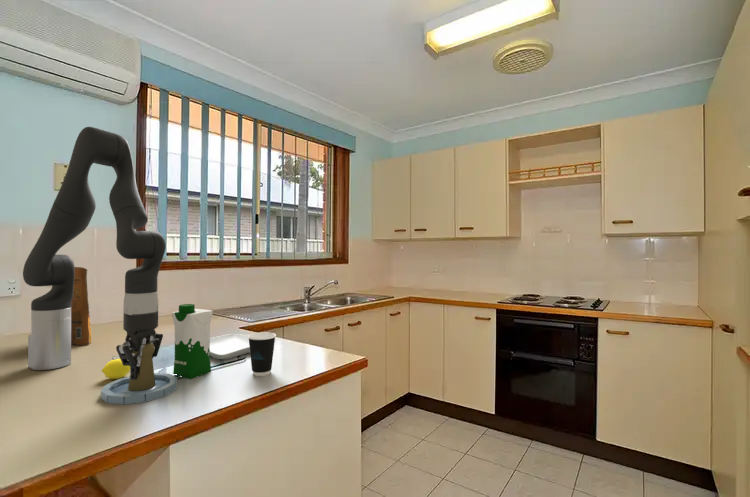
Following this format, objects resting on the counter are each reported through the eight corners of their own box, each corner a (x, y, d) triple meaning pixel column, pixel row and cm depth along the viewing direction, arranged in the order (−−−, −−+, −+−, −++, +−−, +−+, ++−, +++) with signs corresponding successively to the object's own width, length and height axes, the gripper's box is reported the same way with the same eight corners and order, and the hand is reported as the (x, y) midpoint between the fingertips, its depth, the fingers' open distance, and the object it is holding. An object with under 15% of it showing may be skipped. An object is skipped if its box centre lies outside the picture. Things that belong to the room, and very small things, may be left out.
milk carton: (167, 376, 109) (168, 305, 108) (195, 367, 117) (195, 300, 117) (190, 381, 105) (190, 307, 105) (216, 371, 113) (217, 303, 113)
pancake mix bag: (75, 348, 135) (76, 268, 135) (55, 340, 146) (55, 265, 145) (98, 344, 141) (98, 267, 140) (76, 336, 151) (76, 264, 151)
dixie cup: (249, 379, 107) (249, 339, 107) (245, 370, 114) (246, 333, 114) (278, 375, 110) (278, 337, 110) (273, 367, 118) (273, 331, 117)
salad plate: (273, 349, 138) (273, 340, 138) (221, 365, 120) (221, 354, 120) (234, 340, 150) (234, 332, 150) (182, 353, 132) (182, 343, 132)
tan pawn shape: (142, 392, 95) (143, 347, 94) (121, 389, 96) (122, 345, 96) (161, 383, 101) (162, 341, 100) (141, 381, 102) (142, 339, 102)
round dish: (84, 401, 91) (84, 393, 91) (135, 378, 107) (135, 371, 107) (146, 406, 89) (147, 398, 89) (189, 381, 105) (189, 375, 105)
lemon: (125, 375, 111) (128, 356, 111) (133, 379, 107) (136, 359, 108) (96, 378, 105) (100, 358, 106) (103, 383, 102) (107, 362, 102)
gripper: (147, 305, 105) (147, 368, 105) (105, 314, 91) (104, 387, 91) (173, 306, 104) (172, 370, 104) (133, 315, 90) (133, 389, 90)
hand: (140, 378), depth 98 cm, fingers closed on tan pawn shape, 2 cm apart
